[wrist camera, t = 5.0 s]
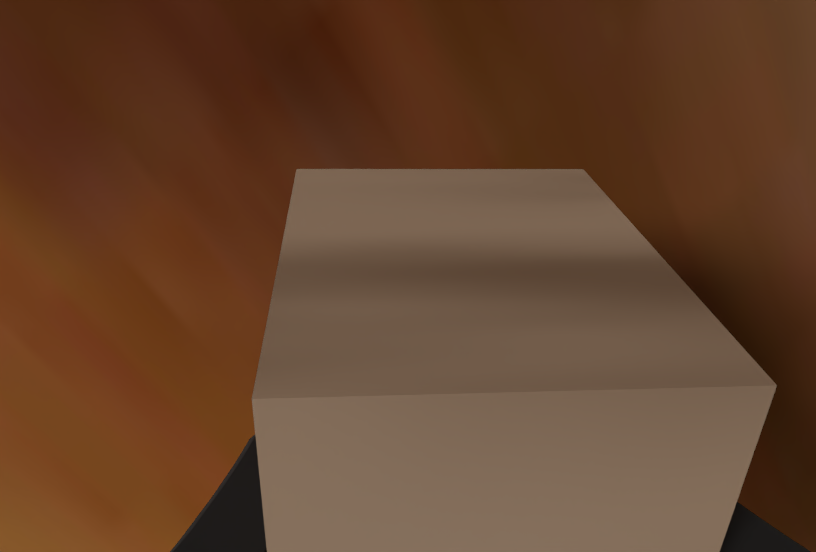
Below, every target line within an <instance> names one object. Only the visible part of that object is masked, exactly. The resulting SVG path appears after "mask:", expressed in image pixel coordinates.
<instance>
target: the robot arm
mask: <svg viewBox="0 0 816 552" xmlns="http://www.w3.org/2000/svg"><path fill="white" fill-rule="evenodd" d="M170 552H267V548H266V538H265V528H264V517H263V507H262V497H261V487H260V477H259V467H258V456H257V446H256V436H255V435H254V436H253V437H252V438H251V439H249V441H248V443H247V445H246V446H245V448H244V450H243V451H242V453H241V454H240V456H239V458H238V459H237V461H236V462H235V464H234V466H233V467H232V469H231V470H230V472H229V473H228V475H227V476H226V478H225V479H224V480H223V482H222V483H221V485H220V486H219V488H218V489H217V491H216V492H215V493H214V495H213V496H212V498H211V499H210V500H209V502H208V503H207V504H206V506H205V507H204V508H203V510H202V511H201V512H200V514H199V515H198V516H197V518H196V519H195V521H194V522H193V523H192V525H191V526H190V527H189V529H188V530H187V531H186V533H185V534H184V535H183V536H182V538H181V539H180V540H179V542H178V543H177V544H176V545H175V547H174V548H173V549H172V550H171V551H170ZM720 552H810V551H809V550H807V549H806V548H804V547H803V546H801V545H799V544H798V543H796V542H795V541H793V540H792V539H790V538H789V537H787V536H786V535H784V534H783V533H781V532H780V531H778V530H777V529H775V528H774V527H772V526H771V525H769V524H768V523H767V522H765V521H764V520H762V519H761V518H759V517H758V516H756V515H755V514H754V513H752V512H751V511H749V510H748V509H746V508H745V507H744V506H742V505H741V504H739V503H738V502H737V503H736V506H735V509H734V511H733V514H732V517H731V520H730V523H729V526H728V529H727V532H726V535H725V538H724V540H723V543H722V546H721V549H720Z"/></svg>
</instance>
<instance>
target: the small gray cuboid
mask: <svg viewBox="0 0 816 552" xmlns="http://www.w3.org/2000/svg"><path fill="white" fill-rule="evenodd" d="M776 387H777V385H776V384H775V383H774V382H773V380H772V379H771V378H770V377H769V376H768V375H767V374H766V373H765V372H764V370H763V369H762V368H761V367H760V366H759V365H758V364H757V363H756V361H755V360H754V359H753V358H752V357H751V356H750V355H749V354H748V353H747V351H746V350H745V349H744V348H743V347H742V346H741V345H740V344H739V343H738V341H737V340H736V339H735V338H734V337H733V336H732V335H731V334H730V332H729V331H728V330H727V329H726V328H725V327H724V326H723V325H722V324H721V322H720V321H719V320H718V319H717V318H716V317H715V316H714V315H713V314H712V312H711V311H710V310H709V309H708V308H707V307H706V306H705V305H704V304H703V302H702V301H701V300H700V299H699V298H698V297H697V296H696V295H695V293H694V292H693V291H692V290H691V289H690V288H689V287H688V286H687V285H686V283H685V282H684V281H683V280H682V279H681V278H680V277H679V276H678V275H677V273H676V272H675V271H674V270H673V269H672V268H671V267H670V266H669V265H668V263H667V262H666V261H665V260H664V259H663V258H662V257H661V256H660V254H659V253H658V252H657V251H656V250H655V249H654V248H653V247H652V246H651V244H650V243H649V242H648V241H647V240H646V239H645V238H644V237H643V236H642V234H641V233H640V232H639V231H638V230H637V229H636V228H635V227H634V225H633V224H632V223H631V222H630V221H629V220H628V219H627V218H626V217H625V215H624V214H623V213H622V212H621V211H620V210H619V209H618V208H617V207H616V205H615V204H614V203H613V202H612V201H611V200H610V199H609V198H608V197H607V195H606V194H605V193H604V192H603V191H602V190H601V189H600V188H599V186H598V185H597V184H596V183H595V182H594V181H593V180H592V179H591V178H590V176H589V175H588V174H587V173H586V172H585V171H584V170H583V169H297V170H296V175H295V180H294V185H293V190H292V196H291V201H290V206H289V211H288V216H287V221H286V226H285V231H284V237H283V242H282V247H281V252H280V257H279V262H278V267H277V273H276V278H275V283H274V288H273V293H272V298H271V303H270V308H269V314H268V319H267V324H266V329H265V334H264V339H263V344H262V349H261V355H260V360H259V365H258V370H257V375H256V380H255V385H254V390H253V396H252V406H253V416H254V426H255V436H256V446H257V456H258V467H259V477H260V487H261V497H262V507H263V517H264V528H265V538H266V548H267V552H720V549H721V546H722V543H723V540H724V538H725V535H726V532H727V529H728V526H729V523H730V520H731V517H732V514H733V511H734V509H735V506H736V503H737V500H738V497H739V494H740V491H741V488H742V485H743V483H744V480H745V477H746V474H747V471H748V468H749V465H750V462H751V459H752V456H753V454H754V451H755V448H756V445H757V442H758V439H759V436H760V433H761V430H762V428H763V425H764V422H765V419H766V416H767V413H768V410H769V407H770V404H771V401H772V399H773V396H774V393H775V390H776Z"/></svg>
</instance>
